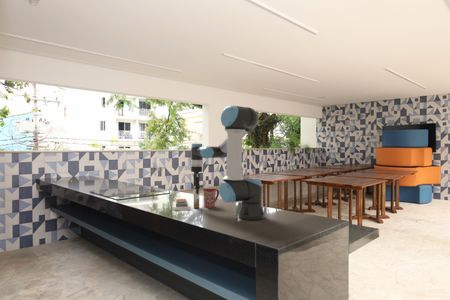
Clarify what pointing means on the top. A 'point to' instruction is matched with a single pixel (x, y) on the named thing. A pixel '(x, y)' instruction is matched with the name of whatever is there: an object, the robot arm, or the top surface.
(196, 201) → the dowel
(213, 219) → the top surface
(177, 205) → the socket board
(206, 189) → the mug
